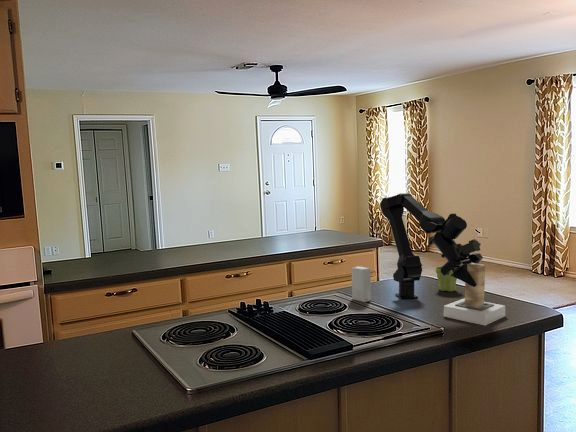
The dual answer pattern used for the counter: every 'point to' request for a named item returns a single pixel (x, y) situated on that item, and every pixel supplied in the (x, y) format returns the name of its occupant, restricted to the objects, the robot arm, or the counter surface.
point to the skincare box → (361, 283)
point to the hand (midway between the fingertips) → (478, 284)
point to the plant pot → (445, 280)
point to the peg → (476, 294)
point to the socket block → (474, 312)
